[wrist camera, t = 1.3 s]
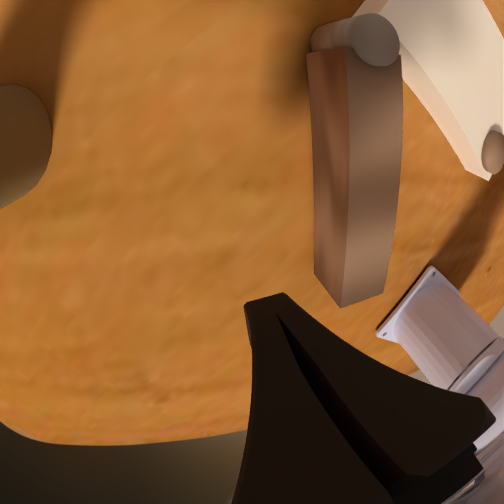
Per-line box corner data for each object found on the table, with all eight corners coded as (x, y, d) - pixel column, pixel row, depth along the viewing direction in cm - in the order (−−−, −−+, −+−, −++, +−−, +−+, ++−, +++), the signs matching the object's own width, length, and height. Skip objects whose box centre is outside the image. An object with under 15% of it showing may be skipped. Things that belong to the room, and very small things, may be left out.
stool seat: (505, 88, 16) (531, 96, 13) (465, 170, 19) (494, 184, 16) (411, -54, 8) (443, -62, 6) (347, 21, 11) (384, 14, 9)
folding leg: (302, 22, 11) (344, 7, 8) (353, 27, 12) (402, 20, 8) (314, 273, 19) (342, 311, 16) (353, 262, 19) (385, 295, 16)
